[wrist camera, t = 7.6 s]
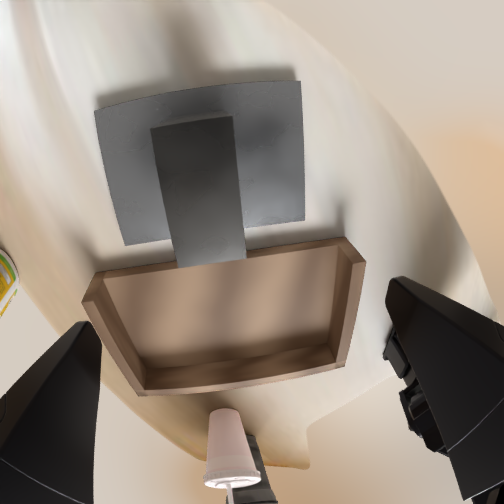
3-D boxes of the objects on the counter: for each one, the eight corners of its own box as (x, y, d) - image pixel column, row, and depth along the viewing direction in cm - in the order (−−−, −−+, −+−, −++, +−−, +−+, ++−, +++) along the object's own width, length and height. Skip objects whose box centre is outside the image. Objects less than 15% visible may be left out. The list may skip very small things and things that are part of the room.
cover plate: (294, 81, 15) (346, 75, 9) (299, 213, 20) (340, 271, 14) (100, 109, 14) (42, 122, 8) (129, 237, 19) (100, 304, 13)
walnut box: (345, 236, 21) (366, 261, 18) (332, 339, 27) (344, 366, 24) (95, 272, 19) (81, 302, 16) (142, 367, 25) (138, 396, 22)
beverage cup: (257, 427, 35) (283, 552, 18) (269, 441, 39) (293, 548, 22) (209, 437, 35) (224, 558, 18) (227, 450, 39) (243, 554, 22)
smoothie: (188, 412, 31) (194, 516, 19) (233, 397, 30) (250, 510, 18) (216, 428, 34) (227, 519, 22) (258, 415, 33) (277, 511, 21)
